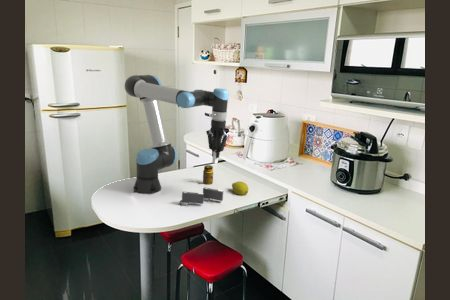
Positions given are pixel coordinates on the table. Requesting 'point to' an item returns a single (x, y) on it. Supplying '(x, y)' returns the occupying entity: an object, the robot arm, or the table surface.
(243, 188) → the lemon
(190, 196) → the grey lever handle
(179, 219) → the table surface
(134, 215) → the table surface
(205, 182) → the condiment
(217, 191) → the grey lever handle
